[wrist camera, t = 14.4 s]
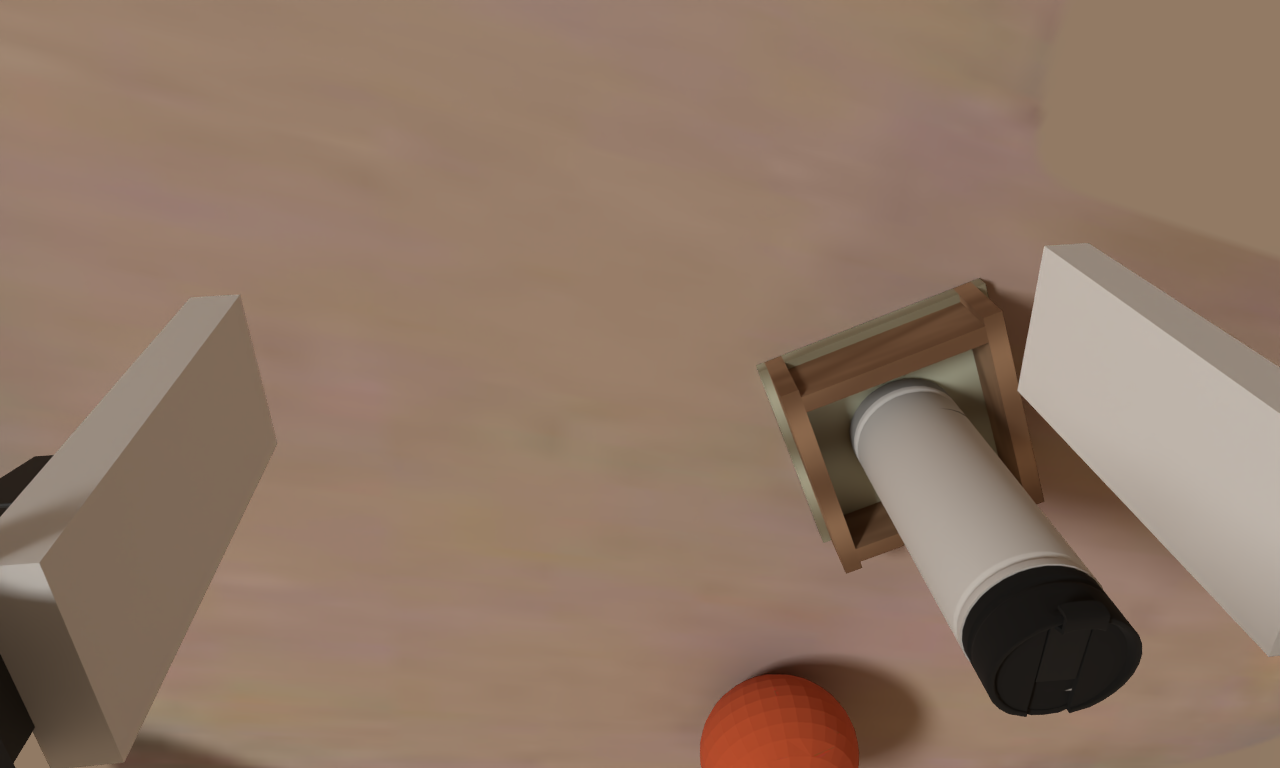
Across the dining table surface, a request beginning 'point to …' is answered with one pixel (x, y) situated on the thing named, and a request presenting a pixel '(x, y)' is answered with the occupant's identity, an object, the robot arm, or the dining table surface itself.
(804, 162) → the dining table surface
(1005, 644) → the travel mug
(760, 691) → the tomato
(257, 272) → the dining table surface
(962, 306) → the walnut caddy
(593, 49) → the dining table surface
